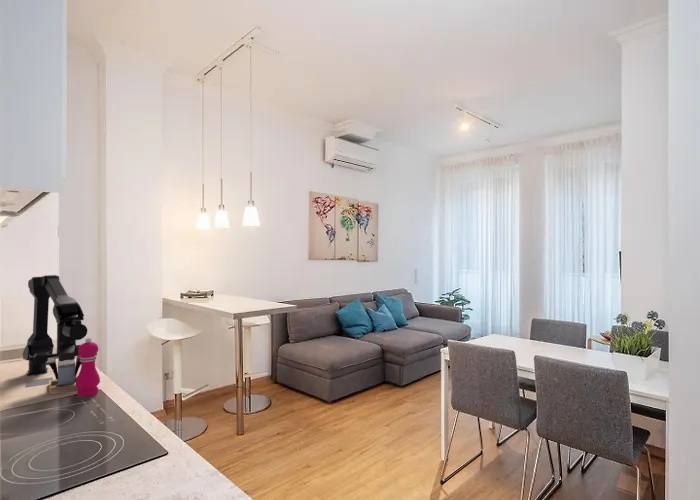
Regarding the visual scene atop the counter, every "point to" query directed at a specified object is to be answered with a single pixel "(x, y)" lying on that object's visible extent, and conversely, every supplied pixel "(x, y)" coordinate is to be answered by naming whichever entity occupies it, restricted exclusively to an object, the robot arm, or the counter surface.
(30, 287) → the robot arm
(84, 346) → the pepper mill
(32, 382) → the mat
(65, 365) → the tin
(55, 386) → the beige shallow tray
